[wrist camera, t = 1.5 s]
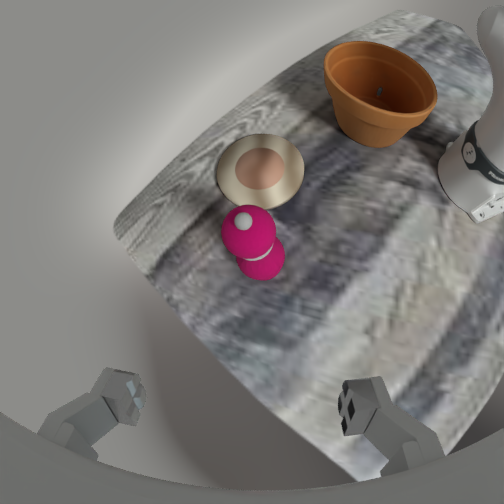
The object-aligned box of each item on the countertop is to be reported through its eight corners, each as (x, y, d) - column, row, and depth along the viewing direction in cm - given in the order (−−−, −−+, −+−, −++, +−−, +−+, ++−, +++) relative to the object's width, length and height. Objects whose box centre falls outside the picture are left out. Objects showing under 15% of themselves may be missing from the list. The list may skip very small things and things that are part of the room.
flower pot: (408, 179, 46) (438, 134, 31) (308, 142, 50) (309, 88, 36) (416, 109, 49) (435, 64, 35) (332, 80, 54) (336, 31, 40)
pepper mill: (285, 283, 44) (280, 254, 25) (241, 283, 46) (203, 255, 26) (285, 240, 46) (278, 183, 27) (242, 241, 47) (208, 187, 28)
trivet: (296, 133, 51) (296, 129, 50) (310, 205, 47) (310, 202, 46) (217, 144, 53) (215, 140, 52) (219, 216, 49) (217, 213, 48)
